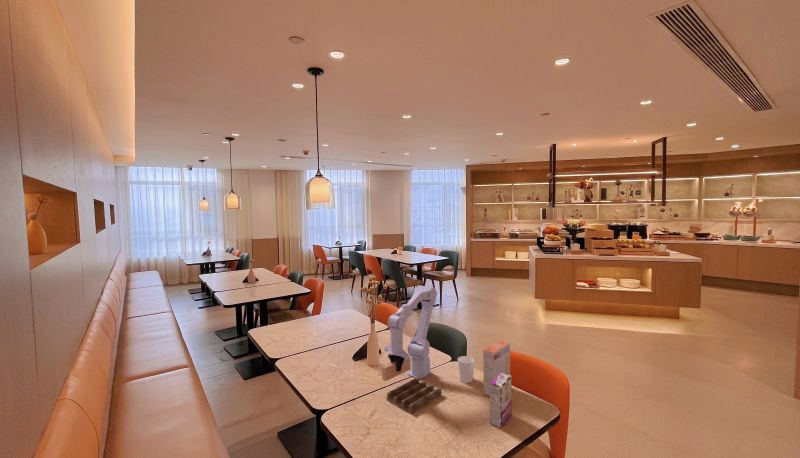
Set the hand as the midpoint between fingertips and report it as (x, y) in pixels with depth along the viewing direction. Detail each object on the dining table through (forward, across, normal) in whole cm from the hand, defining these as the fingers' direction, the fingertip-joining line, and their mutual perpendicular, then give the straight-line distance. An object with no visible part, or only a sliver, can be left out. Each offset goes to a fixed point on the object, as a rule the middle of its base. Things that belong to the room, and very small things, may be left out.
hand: (396, 370), depth 163 cm
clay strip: (+2, 0, 0) cm, 2 cm away
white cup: (+9, +18, +29) cm, 35 cm away
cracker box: (+9, +34, +30) cm, 46 cm away
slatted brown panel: (+9, +11, 0) cm, 14 cm away
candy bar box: (+9, +46, +13) cm, 48 cm away
